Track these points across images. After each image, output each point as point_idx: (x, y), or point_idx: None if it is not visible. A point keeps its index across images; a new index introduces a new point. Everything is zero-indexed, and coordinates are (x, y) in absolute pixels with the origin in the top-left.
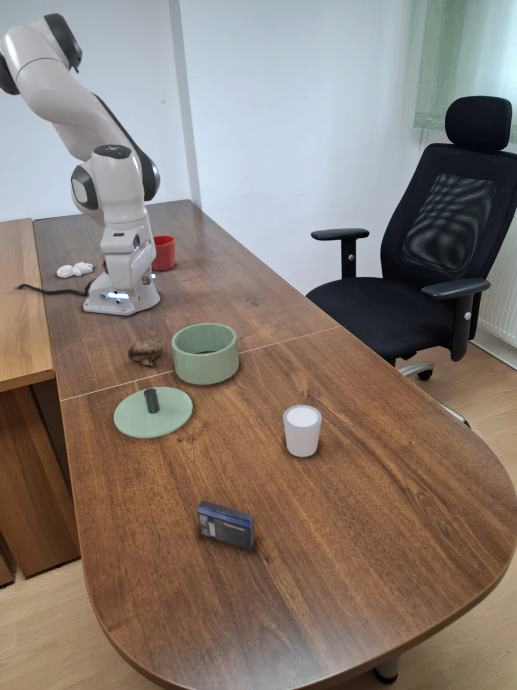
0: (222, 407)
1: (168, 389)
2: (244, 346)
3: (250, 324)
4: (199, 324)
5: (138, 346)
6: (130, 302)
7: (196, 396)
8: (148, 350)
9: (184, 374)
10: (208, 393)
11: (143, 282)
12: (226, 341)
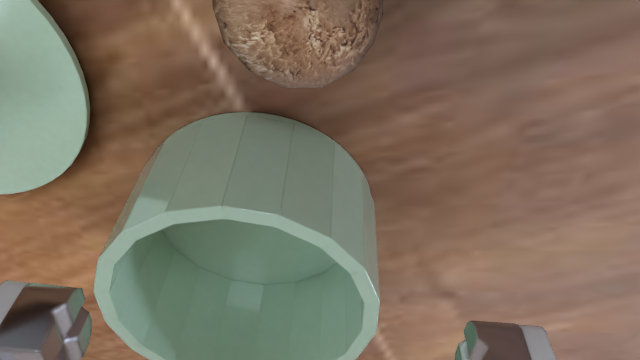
0: (51, 249)
1: (71, 114)
2: (389, 300)
3: (540, 317)
4: (366, 296)
5: (241, 2)
6: (3, 283)
7: (85, 187)
8: (233, 51)
9: (141, 177)
10: (109, 217)
11: (474, 346)
12: (328, 310)
